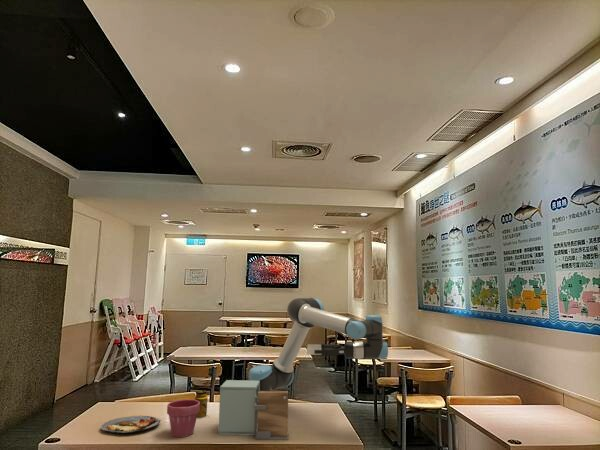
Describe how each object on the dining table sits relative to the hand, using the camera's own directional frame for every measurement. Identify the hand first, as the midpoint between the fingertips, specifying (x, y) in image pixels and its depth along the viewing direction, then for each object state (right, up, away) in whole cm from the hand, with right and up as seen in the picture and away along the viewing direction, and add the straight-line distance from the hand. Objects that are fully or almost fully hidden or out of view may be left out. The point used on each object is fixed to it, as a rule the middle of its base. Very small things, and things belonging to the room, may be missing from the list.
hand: (307, 349), depth 192 cm
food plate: (-81, -36, -1) cm, 89 cm away
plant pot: (-55, -35, -9) cm, 66 cm away
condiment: (-54, -39, +17) cm, 69 cm away
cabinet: (-24, -35, -6) cm, 43 cm away
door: (-15, -34, -12) cm, 39 cm away
